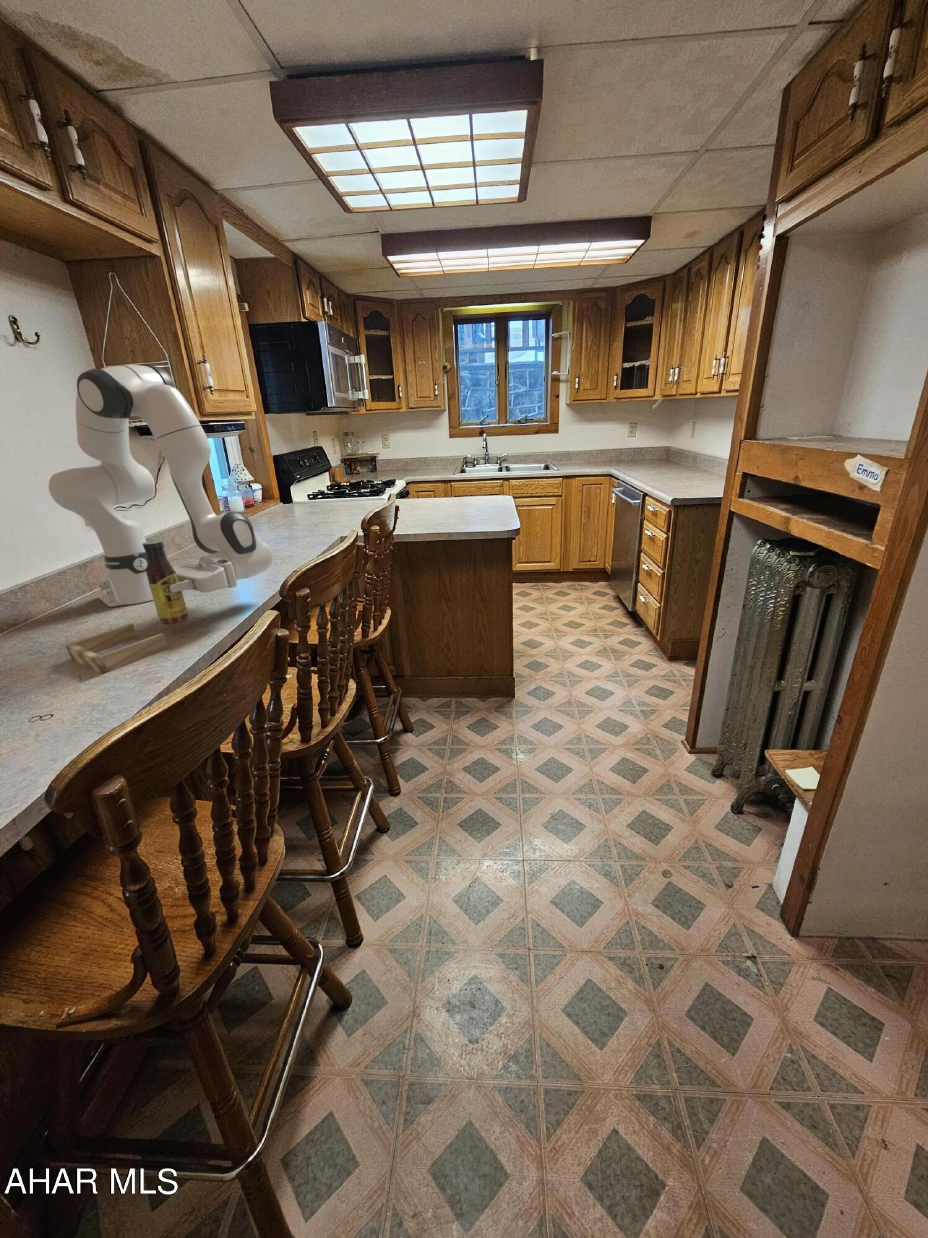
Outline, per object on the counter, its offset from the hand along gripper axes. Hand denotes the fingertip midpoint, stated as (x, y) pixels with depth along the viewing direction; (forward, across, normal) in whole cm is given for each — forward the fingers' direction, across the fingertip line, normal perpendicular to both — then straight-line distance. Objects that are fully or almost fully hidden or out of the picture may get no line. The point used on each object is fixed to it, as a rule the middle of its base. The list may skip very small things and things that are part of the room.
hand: (161, 587), depth 116 cm
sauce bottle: (-1, 0, +9) cm, 9 cm away
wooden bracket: (+13, 0, +12) cm, 18 cm away
